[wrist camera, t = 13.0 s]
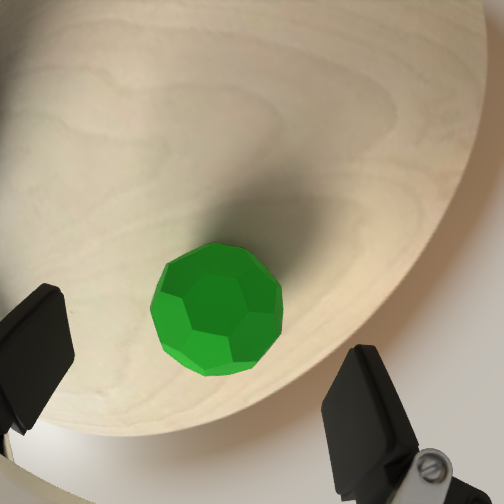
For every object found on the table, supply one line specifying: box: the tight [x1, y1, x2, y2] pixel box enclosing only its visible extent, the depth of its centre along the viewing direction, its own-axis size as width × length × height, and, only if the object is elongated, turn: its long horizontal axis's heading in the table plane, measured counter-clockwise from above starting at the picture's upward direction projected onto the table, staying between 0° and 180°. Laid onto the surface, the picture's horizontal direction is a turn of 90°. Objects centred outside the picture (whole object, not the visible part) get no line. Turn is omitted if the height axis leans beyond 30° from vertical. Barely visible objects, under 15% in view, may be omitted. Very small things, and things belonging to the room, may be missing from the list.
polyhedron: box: [150, 243, 283, 376], centre depth 11 cm, size 5×5×5 cm
